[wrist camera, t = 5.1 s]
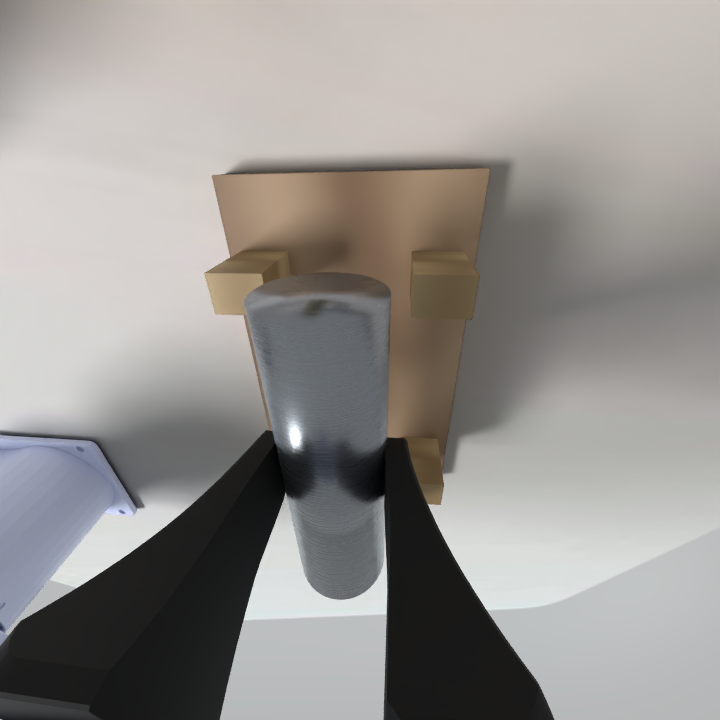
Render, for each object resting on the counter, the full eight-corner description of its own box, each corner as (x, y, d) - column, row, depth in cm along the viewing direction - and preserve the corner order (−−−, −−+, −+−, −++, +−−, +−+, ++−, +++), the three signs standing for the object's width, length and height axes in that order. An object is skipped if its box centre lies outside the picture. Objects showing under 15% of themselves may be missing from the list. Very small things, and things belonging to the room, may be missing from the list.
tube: (312, 512, 16) (292, 595, 13) (272, 272, 10) (216, 323, 7) (385, 517, 16) (382, 603, 13) (391, 272, 10) (390, 327, 7)
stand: (285, 465, 22) (264, 522, 19) (224, 174, 13) (162, 180, 10) (437, 475, 21) (444, 537, 18) (483, 168, 12) (516, 173, 9)
